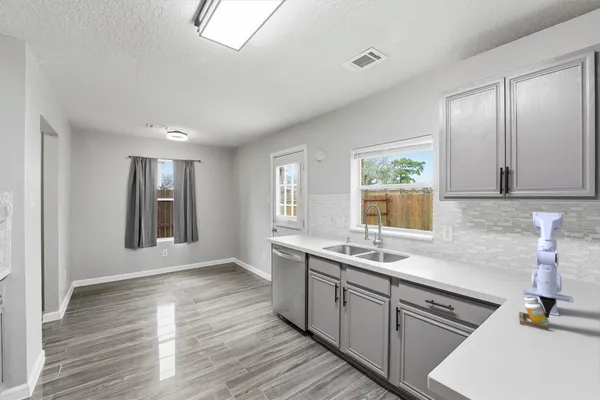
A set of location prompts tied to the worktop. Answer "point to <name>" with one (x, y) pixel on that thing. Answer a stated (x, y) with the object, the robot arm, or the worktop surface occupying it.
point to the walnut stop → (531, 324)
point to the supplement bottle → (535, 310)
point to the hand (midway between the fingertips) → (546, 316)
